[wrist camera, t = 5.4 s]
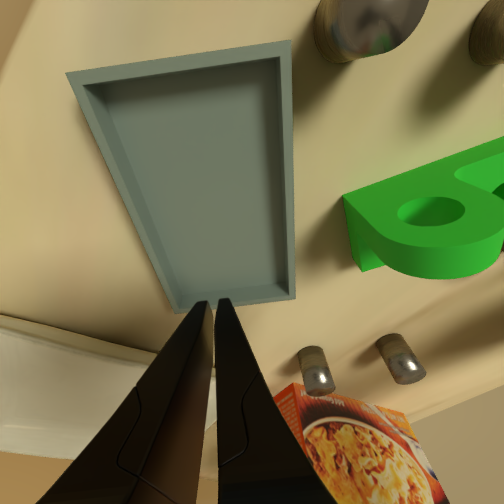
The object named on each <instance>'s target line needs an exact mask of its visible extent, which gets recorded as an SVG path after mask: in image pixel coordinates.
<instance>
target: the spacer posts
mask: <svg viewBox="0 0 504 504" xmlns="http://www.w3.org/2000/svg"><path fill="white" fill-rule="evenodd" d="M428 2H429V0H321V2H320V4H319V6H318V9H317V12H316V15H315V21H314V38H315V43H316V46H317V48H318V50H319V52H320V53H321V55H322V56H323V57H324V58H325V59H327V60H329V61H331V62H334V63H343V62H347V61H352V60H356V59H360V58H365V57H369V56H374V55H378V54H382V53H386V52H389V51H391V50H393V49H394V48H396V47H397V46H399V45H400V44H401V43H403V42H404V41H405V40H406V39H407V38H408V37H409V36H410V35H411V33H412V32H413V31H414V29H415V28H416V27H417V25H418V23H419V22H420V20H421V18H422V16H423V14H424V12H425V10H426V7H427V4H428ZM469 51H470V55H471V57H472V59H473V60H474V61H475V62H476V63H478V64H481V65H492V64H504V0H490V1H489V2H488V3H487V4H486V5H485V7H484V8H483V9H482V11H481V12H480V14H479V16H478V17H477V19H476V21H475V23H474V26H473V28H472V31H471V35H470V40H469ZM501 250H502V251H503V252H504V241H503V244H502V248H501ZM376 347H377V349H378V350H379V352H380V354H381V356H382V358H383V360H384V362H385V363H386V365H387V367H388V369H389V371H390V373H391V374H392V376H393V378H394V380H395V382H396V383H397V384H401V385H406V384H412V383H415V382H417V381H419V380H421V379H423V378H424V377H425V375H426V371H425V369H424V368H423V367H422V365H421V364H420V362H419V361H418V359H417V358H416V356H415V355H414V353H413V352H412V350H411V349H410V347H409V346H408V344H407V343H406V341H405V340H404V338H403V337H402V335H400V334H389V335H386V336H383V337H382V338H380V339H379V340H378V341H377V343H376ZM298 360H299V364H300V368H301V373H302V377H303V382H304V386H305V390H306V393H307V395H309V396H312V397H321V396H326V395H328V394H330V393H332V392H333V391H334V390H335V385H334V382H333V379H332V376H331V373H330V370H329V367H328V364H327V361H326V358H325V355H324V352H323V349H322V348H320V347H317V346H309V347H305V348H303V349H302V350H300V351H299V352H298Z"/></svg>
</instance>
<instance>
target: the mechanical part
mask: <svg viewBox="0 0 504 504" xmlns="http://www.w3.org/2000/svg"><path fill="white" fill-rule="evenodd" d="M342 197H343V203H344V209H345V215H346V221H347V227H348V233H349V239H350V245H351V251H352V257H353V260H354V261H355V263H356V264H357V265H358V267H359V268H360V270H361V271H362V272H365V271H368V270H371V269H374V268H378V267H381V266H384V265H387V266H388V267H390V268H392V269H394V270H396V271H398V272H401V273H403V274H406V275H410V276H414V277H419V278H425V279H456V278H462V277H467V276H471V275H474V274H477V273H479V272H481V271H483V270H485V269H487V268H488V267H489V266H491V265H492V264H493V263H494V262H495V261H496V260H497V258H498V256H499V254H500V251H501V248H502V244H503V241H504V136H503V137H500V138H497V139H495V140H492V141H489V142H486V143H484V144H481V145H478V146H475V147H473V148H470V149H467V150H465V151H462V152H459V153H456V154H454V155H451V156H448V157H445V158H443V159H440V160H437V161H434V162H432V163H429V164H426V165H423V166H421V167H418V168H415V169H412V170H410V171H407V172H404V173H402V174H399V175H396V176H393V177H391V178H388V179H385V180H382V181H380V182H377V183H374V184H371V185H369V186H366V187H363V188H360V189H358V190H355V191H352V192H349V193H347V194H344V195H342Z"/></svg>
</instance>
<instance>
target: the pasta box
mask: <svg viewBox="0 0 504 504" xmlns="http://www.w3.org/2000/svg"><path fill="white" fill-rule="evenodd" d="M273 399H274V401H275V403H276V405H277V406H278V408H279V410H280V412H281V414H282V415H283V417H284V419H285V421H286V422H287V424H288V426H289V427H290V429H291V431H292V432H293V434H294V436H295V437H296V439H297V441H298V442H299V444H300V446H301V448H302V449H303V451H304V453H305V454H306V456H307V458H308V459H309V461H310V463H311V464H312V466H313V468H314V469H315V471H316V472H317V474H318V475H319V477H320V479H321V480H322V482H323V483H324V484H325V486H326V487H327V489H328V490H329V492H330V493H331V494H332V496H333V497H334V498H335V500H336V501H337V502H338V504H450V503H449V501H448V499H447V497H446V495H445V493H444V491H443V489H442V487H441V485H440V483H439V481H438V479H437V478H436V476H435V474H434V472H433V470H432V468H431V466H430V464H429V462H428V460H427V458H426V456H425V454H424V452H423V450H422V448H421V446H420V444H419V443H418V441H417V439H416V437H415V435H414V433H413V431H412V429H411V427H410V425H409V423H408V421H407V419H406V417H405V415H404V413H400V412H397V411H393V410H390V409H386V408H383V407H379V406H375V405H372V404H368V403H365V402H361V401H358V400H354V399H351V398H347V397H343V396H340V395H336V394H333V393H330V394H328V395H326V396H321V397H312V396H309V395H307V393H306V390H305V386H304V385H301V384H297V383H292V384H290V385H289V386H288V387H287V388H285V389H284V390H283V391H281V392H280V393H279V394H277V395H276V396H275V397H273Z"/></svg>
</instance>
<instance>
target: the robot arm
mask: <svg viewBox="0 0 504 504" xmlns="http://www.w3.org/2000/svg"><path fill="white" fill-rule="evenodd" d="M214 342H215V377H216V412H217V447H218V468H219V470H218V504H338V502H337V501H336V500H335V498H334V497H333V496H332V494H331V493H330V492H329V490H328V489H327V487H326V486H325V484H324V483H323V482H322V480H321V479H320V477H319V475H318V474H317V472H316V471H315V469H314V468H313V466H312V464H311V463H310V461H309V459H308V458H307V456H306V454H305V453H304V451H303V449H302V448H301V446H300V444H299V442H298V441H297V439H296V437H295V436H294V434H293V432H292V431H291V429H290V427H289V426H288V424H287V422H286V421H285V419H284V417H283V415H282V414H281V412H280V410H279V408H278V406H277V405H276V403H275V401H274V399H273V397H272V395H271V393H270V391H269V389H268V386H267V384H266V382H265V380H264V377H263V375H262V373H261V371H260V368H259V366H258V363H257V361H256V359H255V356H254V354H253V352H252V349H251V347H250V345H249V342H248V340H247V338H246V335H245V333H244V331H243V328H242V326H241V324H240V321H239V319H238V317H237V314H236V312H235V309H234V307H233V305H232V302H231V300H230V298H228V297H227V298H220V299H219V300H218V305H217V311H216V317H215V324H214ZM212 366H213V314H212V311H211V307H210V304H209V302H208V301H207V300H203V301H197V302H196V303H195V304H194V306H193V307H192V308H191V310H190V311H189V313H188V314H187V315H186V317H185V318H184V319H183V321H182V322H181V323H180V325H179V326H178V327H177V329H176V330H175V332H174V333H173V334H172V336H171V337H170V338H169V340H168V341H167V342H166V344H165V345H164V346H163V348H162V349H161V351H160V352H159V353H158V355H157V356H156V357H155V359H154V360H153V361H152V363H151V364H150V365H149V367H148V368H147V370H146V371H145V372H144V374H143V375H142V376H141V378H140V379H139V380H138V382H137V383H136V386H134V387H133V388H132V390H131V391H130V392H129V394H128V395H127V396H126V398H125V399H124V400H123V402H122V403H121V404H120V406H119V407H118V408H117V410H116V411H115V412H114V413H113V415H112V416H111V417H110V418H109V420H108V421H107V422H106V423H105V424H104V426H103V427H102V428H101V429H100V431H99V432H98V433H97V434H96V435H95V437H94V438H93V439H92V440H91V441H90V442H89V443H88V445H87V446H86V447H85V448H84V449H83V450H82V452H81V453H80V454H79V455H78V456H77V457H76V459H75V460H74V461H73V462H72V463H71V465H70V466H69V467H68V468H67V469H66V470H65V471H64V473H63V474H62V475H61V476H60V477H59V479H58V480H57V481H56V482H55V483H54V484H53V485H52V487H51V488H50V489H49V490H48V491H47V492H46V493H45V495H43V496H42V497H41V498H40V500H38V501H37V502H36V503H35V504H196V498H197V490H198V481H199V473H200V465H201V457H202V448H203V440H204V432H205V424H206V415H207V407H208V399H209V390H210V382H211V374H212Z"/></svg>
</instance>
